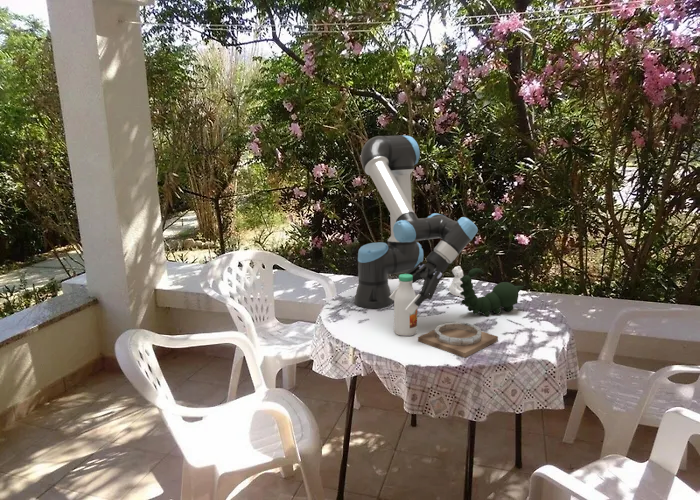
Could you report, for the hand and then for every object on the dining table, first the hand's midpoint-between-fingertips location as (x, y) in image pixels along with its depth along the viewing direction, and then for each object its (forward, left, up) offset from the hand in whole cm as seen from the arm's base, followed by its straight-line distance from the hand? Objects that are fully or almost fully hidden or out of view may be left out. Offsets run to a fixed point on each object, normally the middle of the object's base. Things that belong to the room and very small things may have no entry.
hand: (399, 305), depth 174 cm
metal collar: (+18, +8, -8) cm, 21 cm away
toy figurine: (+11, +39, -10) cm, 42 cm away
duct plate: (+18, +8, -10) cm, 22 cm away
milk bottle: (+1, +2, -10) cm, 10 cm away
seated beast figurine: (-11, +49, -10) cm, 51 cm away
